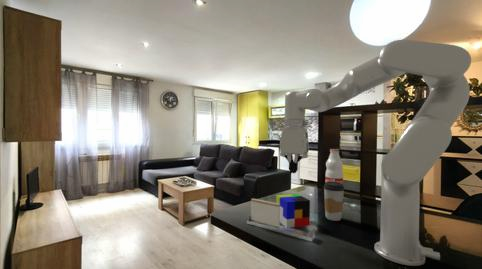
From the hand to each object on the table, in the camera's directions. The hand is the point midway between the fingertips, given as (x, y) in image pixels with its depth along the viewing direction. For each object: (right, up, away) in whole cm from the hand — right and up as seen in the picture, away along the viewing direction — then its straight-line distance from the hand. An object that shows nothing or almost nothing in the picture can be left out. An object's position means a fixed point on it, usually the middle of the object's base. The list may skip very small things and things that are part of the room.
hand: (293, 172), depth 87 cm
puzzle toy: (+1, -22, +7) cm, 23 cm away
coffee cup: (+20, -22, +12) cm, 32 cm away
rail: (-6, -21, -2) cm, 22 cm away
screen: (-11, -20, +2) cm, 22 cm away
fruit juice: (+33, -22, +44) cm, 59 cm away
